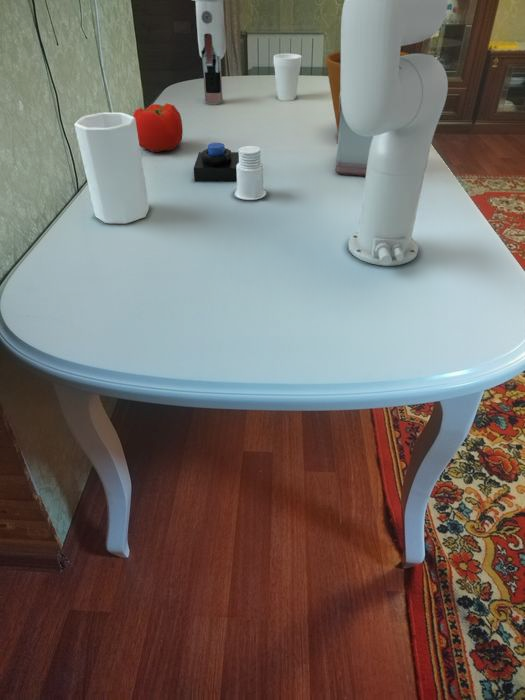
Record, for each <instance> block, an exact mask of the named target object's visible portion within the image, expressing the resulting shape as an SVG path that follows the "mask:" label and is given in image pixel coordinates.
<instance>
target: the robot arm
mask: <svg viewBox="0 0 525 700" xmlns="http://www.w3.org/2000/svg"><path fill="white" fill-rule="evenodd" d="M192 1H194V2H195V16H196V18H195V19H196V30H197V31H196V32H197V44H198V53H199V57H200V58H201V59H202V58H204V61H205V85H206V92H207V93H220V92H221V76H222V75H221V76H220V71H219V56H220V59H221V60H222V59H223V58H225V54H226V51H227V44H226V42H227V41H226V28H225V26H226V25H225V11H224V2H223V1H224V0H192ZM448 4H449V0H344V1H343V4H342V11H341V18H340V51H341V75H340V94H341V107H342V112H343V115H344V118H345V121H346V123H347V124H348V126H349V127H350V129H351V130H352V131H354V132H355V133H356V134H358V135H361V136H366V137H370V136H373V139H372V142H371V145H370V150H369V156H368V162H367V170H366V176H365V177H364V186H363V187H364V188H363V195H362V202H361V210H360V218H359V219H360V220H359V226H358V231H357V232H355V233H353V234H352V235H351V236H350V237H349V239H348V250H349V252H350V253H351V254H352V255H353V256H354V257H355V258H357V259H358V260H361V261H363V262H365V263H368V264H372V265H377V266H384V267H385V266H387V267H388V266H389V267H390V266H391V267H392V266H400V265H404V264H407V263H409V262H411V261H413V260H414V259H415V258H416V257H417V255H418V252H419V244H418V243H417V241H416V240H415V239H414V238H413V232H414V228H415V223H416V217H417V213H418V209H419V208H418V207H419V203H420V198H421V193H422V188H423V183H424V178H425V173H426V169H427V166H428V165H427V164H428V160H429V155H430V150H431V146H432V142H433V139H434V135H435V132H436V130H437V126H438V124H439V121H440V118H441V117H442V113H443V110H444V107H445V105H446V100H447V96H448V91H449V87H448V86H449V81H448V75H447V72H446V70H445V67H444V66H443V64H442V63H441V62H440V61H439V60H438V59H437V58H436V57H434V56H432V55H430V54H426V53H408V54H409V55H404V56H400V52H401V51H402V50H401V49H402V47H404V46H409V45H413V44H419V43H421V42H424V41H426V40H429V39H430V38H432V37H433V36H434V35H436V34H437V33H438V31H439V30H440V29H441V27H442V25H443V24H444V21H445V18H446V16H447V15H446V14H447V11H448Z"/></svg>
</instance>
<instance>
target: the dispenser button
mask: <svg viewBox="0 0 525 700" xmlns="http://www.w3.org/2000/svg"><path fill="white" fill-rule="evenodd" d="M225 148H226V146H225V144H224V143H222V142H211V143H208V144H207V149H208V154H209V155H213V156H218V155H223V154H225Z"/></svg>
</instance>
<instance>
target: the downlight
mask: <svg viewBox="0 0 525 700" xmlns="http://www.w3.org/2000/svg"><path fill="white" fill-rule="evenodd" d="M238 152H239V163H238V164H237V165H236V170H237V182H236V190H235V191H234V196H235V197H236V198H237V199H240V200H243V201H244V200H245V201H256V200H260V199H262V198H264V197H266V195H267V191H266V190H265V189H264V163H262V162H261V148H260V147H259V146H255V145H244V146H241V147H239V148H238Z"/></svg>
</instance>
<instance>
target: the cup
mask: <svg viewBox="0 0 525 700" xmlns="http://www.w3.org/2000/svg"><path fill="white" fill-rule="evenodd" d="M74 129H75V134H76V138H77V143H78V147H79V151H80V155H81V160H82V164H83V169H84V173H85V177H86V178H85V179H86V181H87V187H88V190H89V195H90V199H91V204H92V207H93V212H94V216H95V218H97V219H98V220H100V221H102V222H103V223H105V224H110V225H111V224H114V225H116V224H119V225H120V224H121V225H122V224H123V225H128V224H130V223H132V222H133V223H134V222H136V221H138V220H141V219H144V218H145V217H146V216H147V214H148V212H149V210H150V206H149V205H150V204H149V199H148V193H147V186H146V180H145V179H146V178H145V172H144V166H143V160H142V154H141V147H140V146H139V140H138V133H137V127H136V120H135V118H134V117H133V115H130V114H127V113H124V112H105V111H104V112H97V113H93V114H88V115H87V114H86V115H84V116H81V117H80V118H79V119H78V120H77V121H76V122H75V123H74Z"/></svg>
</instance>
